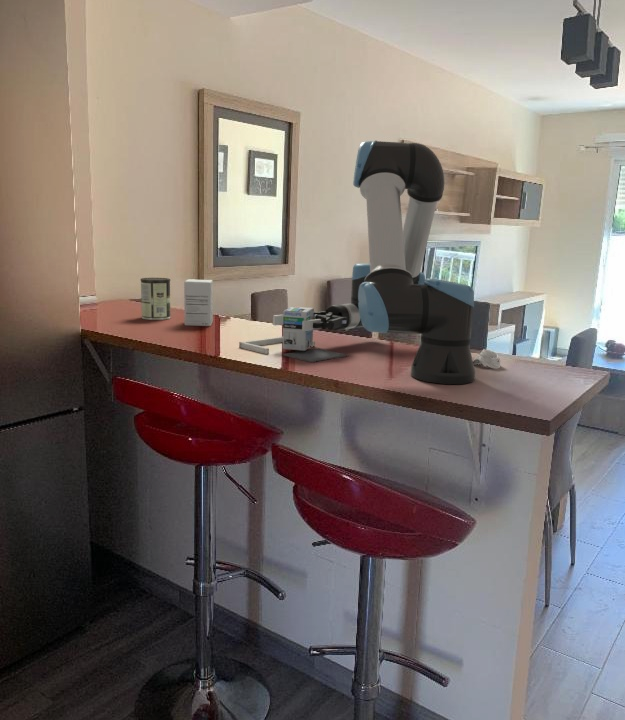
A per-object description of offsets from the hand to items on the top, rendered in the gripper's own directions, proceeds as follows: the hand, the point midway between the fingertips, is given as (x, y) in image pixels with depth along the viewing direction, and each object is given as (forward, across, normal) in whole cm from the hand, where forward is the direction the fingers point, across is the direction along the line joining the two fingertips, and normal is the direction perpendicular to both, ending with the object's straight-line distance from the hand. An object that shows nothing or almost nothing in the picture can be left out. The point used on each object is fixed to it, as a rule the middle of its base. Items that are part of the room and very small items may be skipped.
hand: (288, 323), depth 175 cm
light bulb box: (-4, 0, -7) cm, 8 cm away
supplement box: (-10, +54, -8) cm, 56 cm away
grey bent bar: (-4, +8, -8) cm, 12 cm away
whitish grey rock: (-32, -44, -9) cm, 55 cm away
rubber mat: (-4, -7, -8) cm, 12 cm away
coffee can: (-5, +74, -8) cm, 74 cm away
